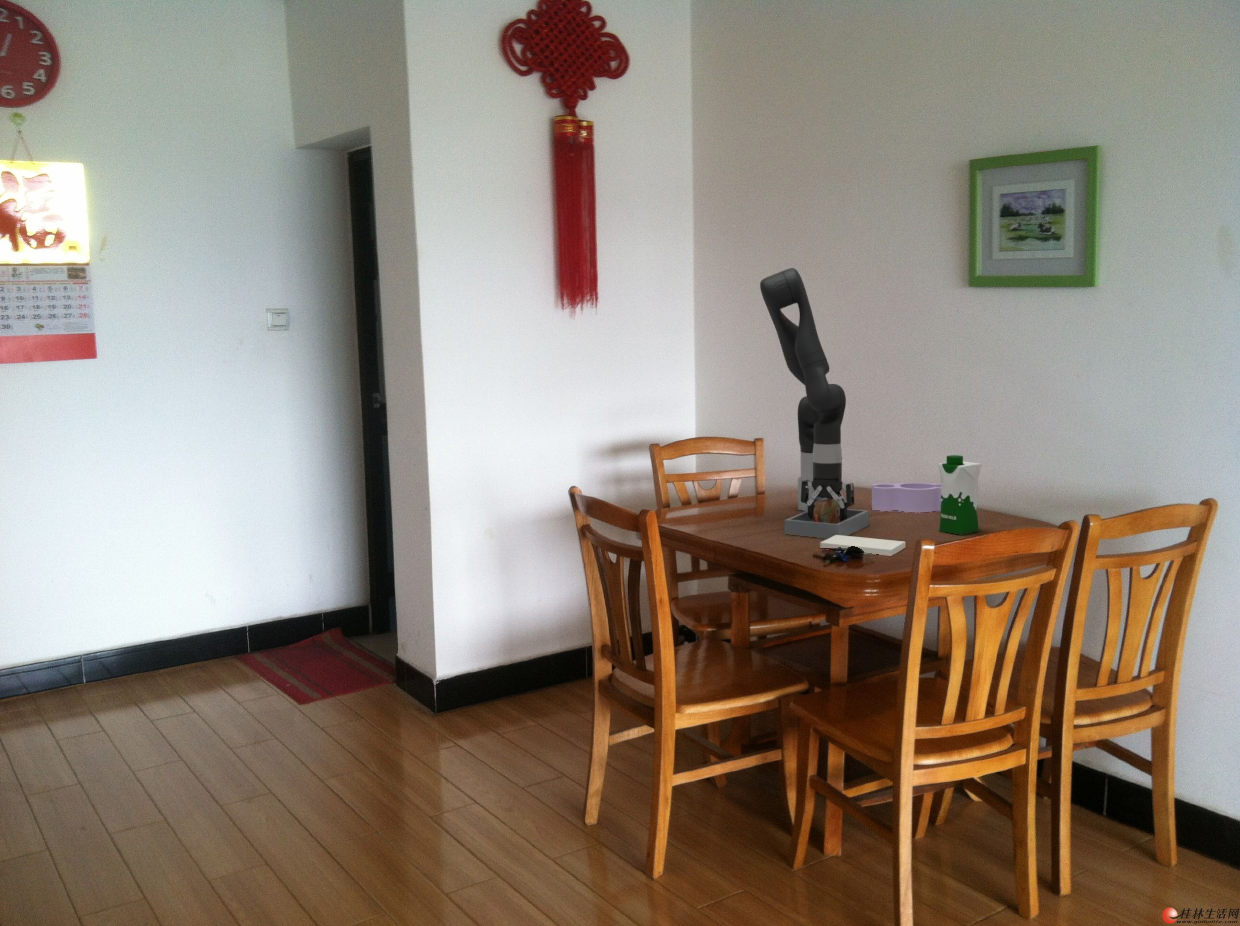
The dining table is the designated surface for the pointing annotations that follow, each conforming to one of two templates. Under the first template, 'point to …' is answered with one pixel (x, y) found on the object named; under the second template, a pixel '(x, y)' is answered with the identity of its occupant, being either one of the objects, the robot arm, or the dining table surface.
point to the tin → (827, 511)
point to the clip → (907, 497)
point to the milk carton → (959, 495)
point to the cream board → (865, 544)
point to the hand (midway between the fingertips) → (827, 520)
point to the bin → (826, 525)
